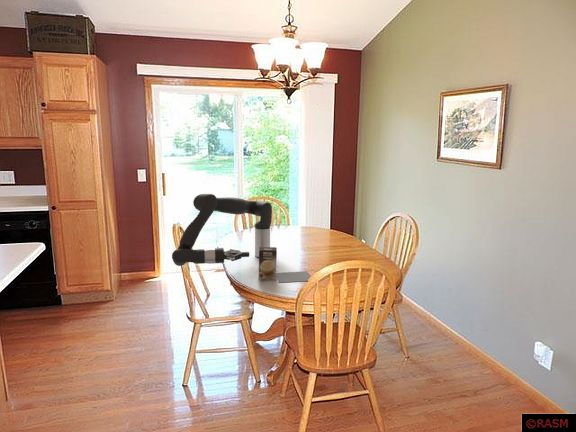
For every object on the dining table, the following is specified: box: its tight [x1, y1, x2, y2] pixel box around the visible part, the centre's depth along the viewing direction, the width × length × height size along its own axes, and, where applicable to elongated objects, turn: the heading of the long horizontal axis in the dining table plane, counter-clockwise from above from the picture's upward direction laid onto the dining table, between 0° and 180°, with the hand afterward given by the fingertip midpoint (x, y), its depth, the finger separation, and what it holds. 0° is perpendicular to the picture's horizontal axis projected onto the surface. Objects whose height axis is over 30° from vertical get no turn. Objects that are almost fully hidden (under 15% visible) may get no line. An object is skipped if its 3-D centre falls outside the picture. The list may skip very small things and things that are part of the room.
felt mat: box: [276, 270, 312, 284], centre depth 214 cm, size 14×18×1 cm
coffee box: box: [258, 246, 278, 282], centre depth 210 cm, size 9×6×16 cm
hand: (249, 254), depth 207 cm, fingers closed
